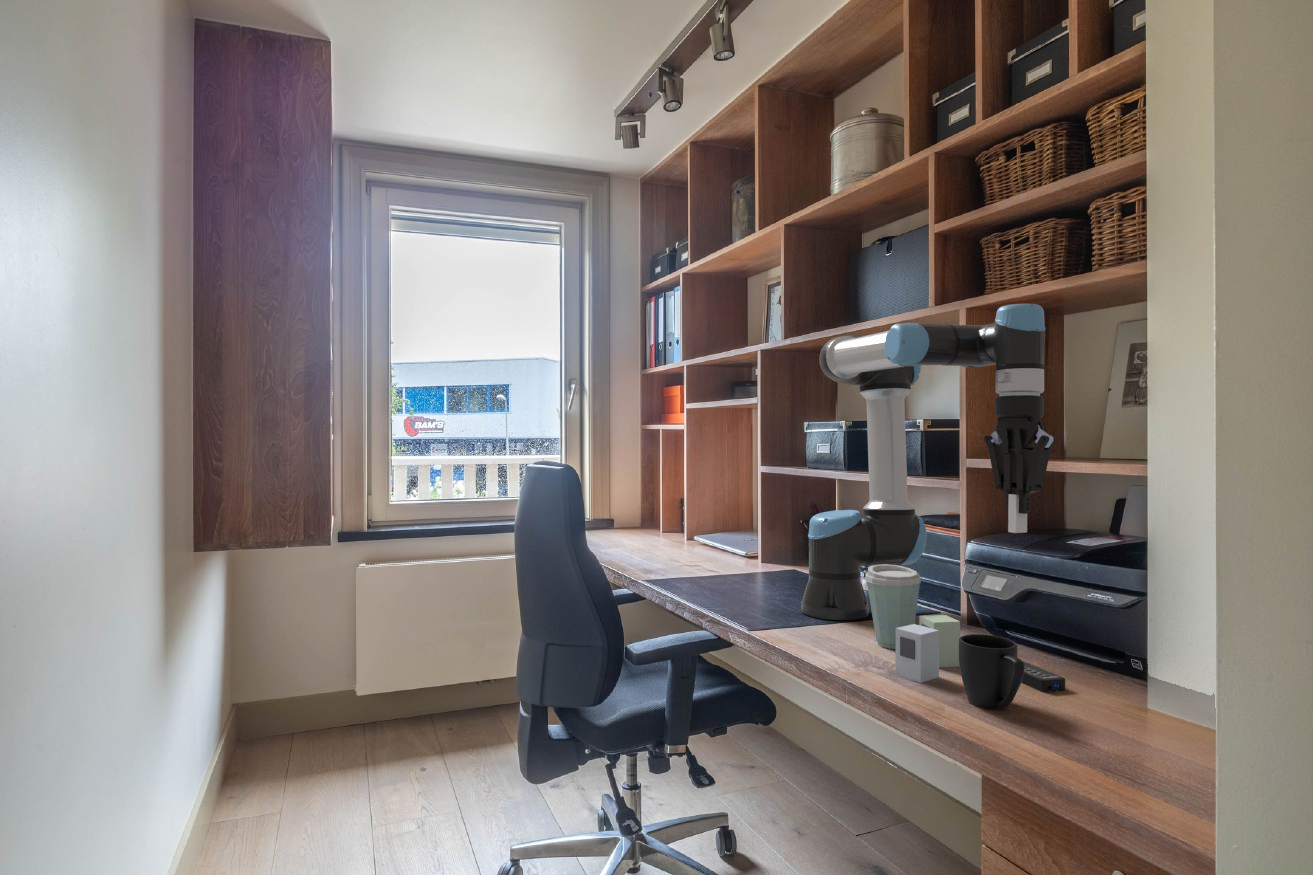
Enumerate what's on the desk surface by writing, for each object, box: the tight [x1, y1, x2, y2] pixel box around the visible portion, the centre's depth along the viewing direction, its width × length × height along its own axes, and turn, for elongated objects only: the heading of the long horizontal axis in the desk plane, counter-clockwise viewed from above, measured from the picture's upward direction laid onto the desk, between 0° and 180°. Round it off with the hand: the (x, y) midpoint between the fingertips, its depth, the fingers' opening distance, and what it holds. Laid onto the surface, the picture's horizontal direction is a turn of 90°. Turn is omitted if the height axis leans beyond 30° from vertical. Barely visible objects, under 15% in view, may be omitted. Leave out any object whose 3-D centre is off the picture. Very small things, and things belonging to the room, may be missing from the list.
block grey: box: [895, 623, 940, 684], centre depth 125 cm, size 5×5×8 cm
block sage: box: [918, 614, 961, 668], centre depth 132 cm, size 5×5×8 cm
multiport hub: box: [1021, 660, 1066, 694], centre depth 122 cm, size 4×11×2 cm, turn 14°
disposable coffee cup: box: [864, 564, 922, 650], centre depth 143 cm, size 11×11×15 cm
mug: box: [959, 633, 1024, 711], centre depth 110 cm, size 8×12×10 cm
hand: (1017, 531), depth 126 cm, fingers closed
